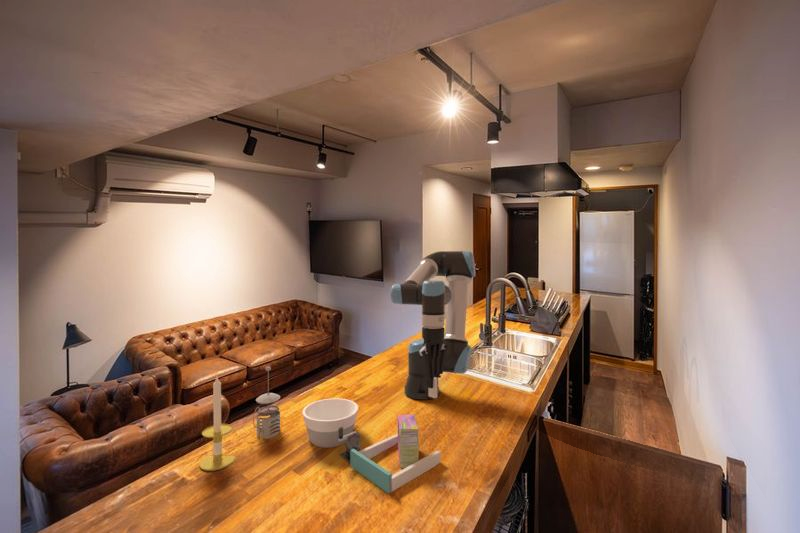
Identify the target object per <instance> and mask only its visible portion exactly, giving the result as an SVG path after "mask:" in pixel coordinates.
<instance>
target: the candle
mask: <svg viewBox="0 0 800 533" xmlns="http://www.w3.org/2000/svg"><path fill="white" fill-rule="evenodd" d="M212 388H213V390H212V392H213V393H212V394H213V395H212V396H213V399H212V402H213V407H212V408H213V409H212V410H213V425H210V426H208V427H206V428H204V429H203V430H202V432H201V436H203V437H204V438H207V439H211V438H212V454H213V455H207V456H206V457H205V458H203V459H201V460H200V463H199V468H200V469H201V470H202V471H205V472H206V471H207V472H208V471H209V472H214V471H218V470H219V471H220V470H222V469H224V468H227V467H229V466H230V465H231V464H233V462H234V461H235V460H236V456H235V455H223V437H224V436H226V435H228V434H229V433H231V431H233V425H232V424H231V423H230V424H228V423H222V382H221V381H220V379H219V377H218V376H216V377H215V380H214V382H213V384H212Z"/></svg>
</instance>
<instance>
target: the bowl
mask: <svg viewBox="0 0 800 533" xmlns="http://www.w3.org/2000/svg"><path fill="white" fill-rule="evenodd" d="M359 408H360V407H359V405H358V404H357V403H356V402H355V401H353V400H350V399H346V398H340V397H339V398H325V399H319V400H316V401H313V402H311V403H309V404H307V405H306V406H305V407H303V409H302V411H301V412H302V417H303V420H304V421H303V422H304V424H305V427H306V432H307V435H308V439H309V441H310V443H311V444H312V445H314V446H316V447H318V448H319V447H320V448H334V447H339V446H342V445H344V444H346V440H344V441H341V442H339V441H338V428H339V427H343V436H344V435H347V434H348V433H351V432H354V429H355V424H356V420H357V417H358V414H359V413H358V412H359Z"/></svg>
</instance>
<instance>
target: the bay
mask: <svg viewBox="0 0 800 533" xmlns="http://www.w3.org/2000/svg"><path fill="white" fill-rule="evenodd" d="M395 445H398V433H397V434H394V435H391V436H389V437H387V438H385V439H383V440H381V441H378V442H376V443H374V444H372V445H370V446H367V447H365V448H363V449H360V451H356V450H355V449H352V450H350V463H349V465H350V467H351V468H352V469H353V470H355V471H356V472H357V473H359V474H360V475H362V476H363V477H364V478H366V479H367V480H368V481H370V482H371V483H372V484H374V485H375V486H376V487H378V488H380V489H381V490H382V491H384V492H385V493H387V495H389V494H391V493H392V492H394V491H396V490H398V489H399V488H401V487H403V486H404V485H407V484H408V483H409V482H411V481H412V480H415V479H416V478H418V477H419V476H421V475H423V474H424V473H426V472H428V471H429V470H432V469H433V468H434V467H436V466H437V465H439V464H440V463H441V451H440V450H435V451H434V452H432V453H430V454H428V455H426V456H425V457H422V458H421V459H419V461H417V462H415V463H413V464H412V465H410V466H408V467H406V468H402V469H401V470H399V471H397V472H395V473H394V474H393V473H391V472H390V471H389V470H387V469H385V468H384V467H383V466H381V465H379V464H377V463H376V462H375V461H373V460H371V459H372V458H374V457H376V456H378V455H379V454H381V453H383V452H385V451H386V450H388V449H390V448H392V447H393V446H395Z"/></svg>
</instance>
